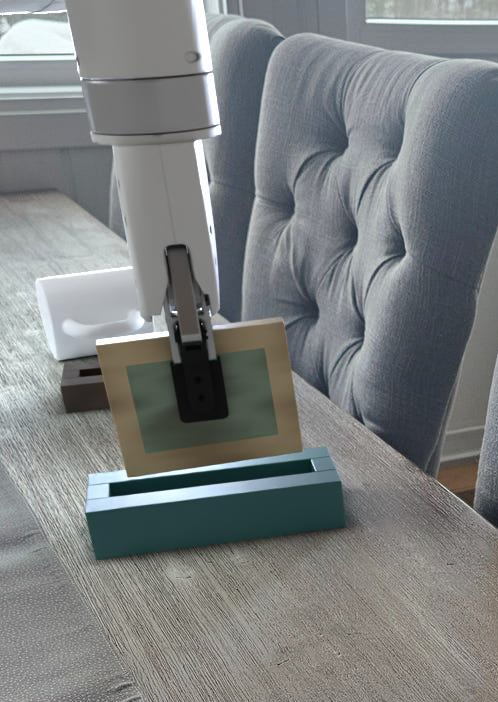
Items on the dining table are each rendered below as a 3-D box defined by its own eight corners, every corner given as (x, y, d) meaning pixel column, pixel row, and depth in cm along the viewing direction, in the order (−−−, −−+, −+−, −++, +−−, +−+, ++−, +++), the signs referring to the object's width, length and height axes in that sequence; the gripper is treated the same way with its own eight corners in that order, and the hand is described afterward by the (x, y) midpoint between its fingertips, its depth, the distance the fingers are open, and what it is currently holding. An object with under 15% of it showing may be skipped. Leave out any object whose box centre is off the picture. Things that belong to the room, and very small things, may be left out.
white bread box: (48, 350, 119) (30, 271, 114) (143, 335, 122) (128, 259, 118) (68, 380, 109) (49, 296, 105) (170, 363, 113) (155, 282, 109)
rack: (66, 413, 101) (59, 386, 100) (69, 390, 107) (63, 364, 105) (245, 394, 104) (241, 367, 103) (239, 372, 110) (235, 347, 109)
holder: (95, 560, 75) (84, 512, 74) (98, 519, 81) (87, 473, 79) (346, 527, 79) (341, 480, 77) (331, 489, 85) (326, 445, 83)
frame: (127, 478, 76) (95, 345, 71) (127, 470, 77) (95, 339, 72) (303, 452, 78) (284, 321, 73) (301, 445, 79) (281, 316, 74)
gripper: (90, 102, 72) (145, 386, 81) (82, 128, 59) (148, 462, 68) (210, 95, 73) (250, 375, 83) (227, 119, 60) (272, 447, 70)
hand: (204, 412), depth 76 cm, fingers closed on frame, 1 cm apart
